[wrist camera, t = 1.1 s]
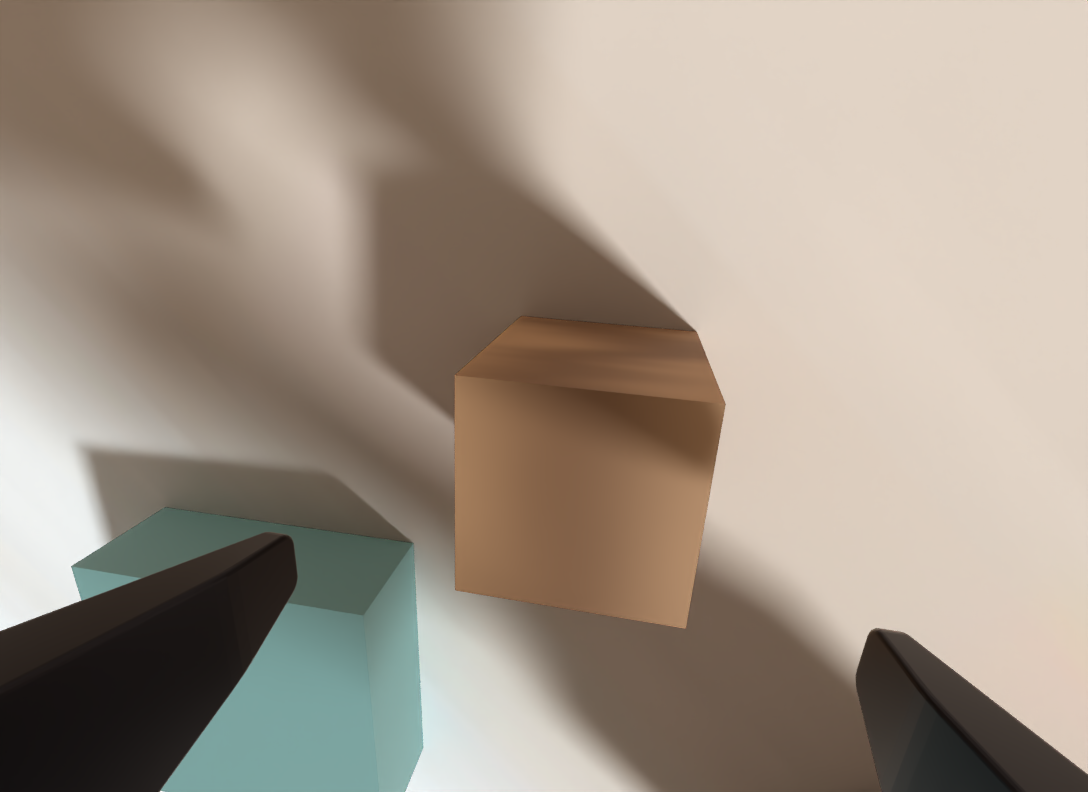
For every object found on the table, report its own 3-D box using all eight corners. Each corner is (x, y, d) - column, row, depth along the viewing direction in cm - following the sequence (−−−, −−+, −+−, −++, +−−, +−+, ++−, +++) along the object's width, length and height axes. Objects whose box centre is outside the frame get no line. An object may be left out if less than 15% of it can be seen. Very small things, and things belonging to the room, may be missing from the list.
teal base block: (417, 537, 20) (363, 615, 16) (426, 739, 23) (383, 843, 19) (172, 502, 21) (71, 566, 17) (215, 697, 25) (137, 785, 21)
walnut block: (696, 331, 15) (726, 403, 10) (672, 489, 17) (685, 628, 11) (521, 315, 16) (454, 374, 10) (515, 468, 18) (455, 590, 12)
